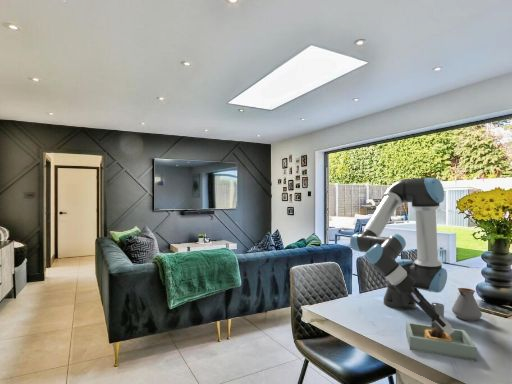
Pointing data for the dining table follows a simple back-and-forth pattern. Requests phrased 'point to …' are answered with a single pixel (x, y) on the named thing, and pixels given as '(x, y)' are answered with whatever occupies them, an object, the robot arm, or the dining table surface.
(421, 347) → the walled box
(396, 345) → the dining table surface
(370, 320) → the dining table surface
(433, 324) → the peg
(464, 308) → the coffee pot
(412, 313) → the dining table surface
